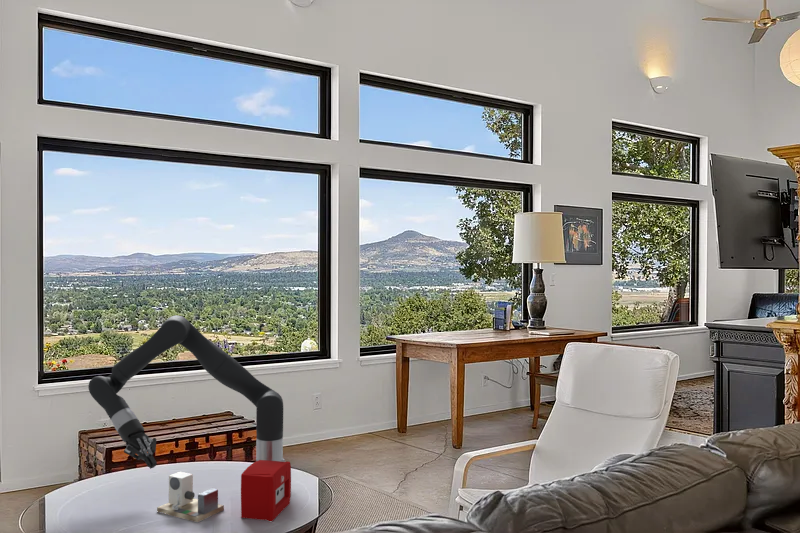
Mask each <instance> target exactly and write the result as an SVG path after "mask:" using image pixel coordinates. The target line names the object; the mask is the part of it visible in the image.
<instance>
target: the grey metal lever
mask: <svg viewBox="0 0 800 533" xmlns="http://www.w3.org/2000/svg"><path fill="white" fill-rule="evenodd" d="M181 508H182V504H180V494H177V505H175V510H179V509H181Z"/></svg>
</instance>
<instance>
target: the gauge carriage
mask: <svg viewBox="0 0 800 533" xmlns="http://www.w3.org/2000/svg"><path fill="white" fill-rule="evenodd" d="M193 484H194V474H193V473H189V472H184V471H178V472H175V473H172V474H170V475H168V503H169V504H174V505H172V509H174V510H175V505H177V494H180V504H182V506H184V505H186V504H188V503H191V502H193V498H195V492H194V490H193V489H194V485H193Z"/></svg>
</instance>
